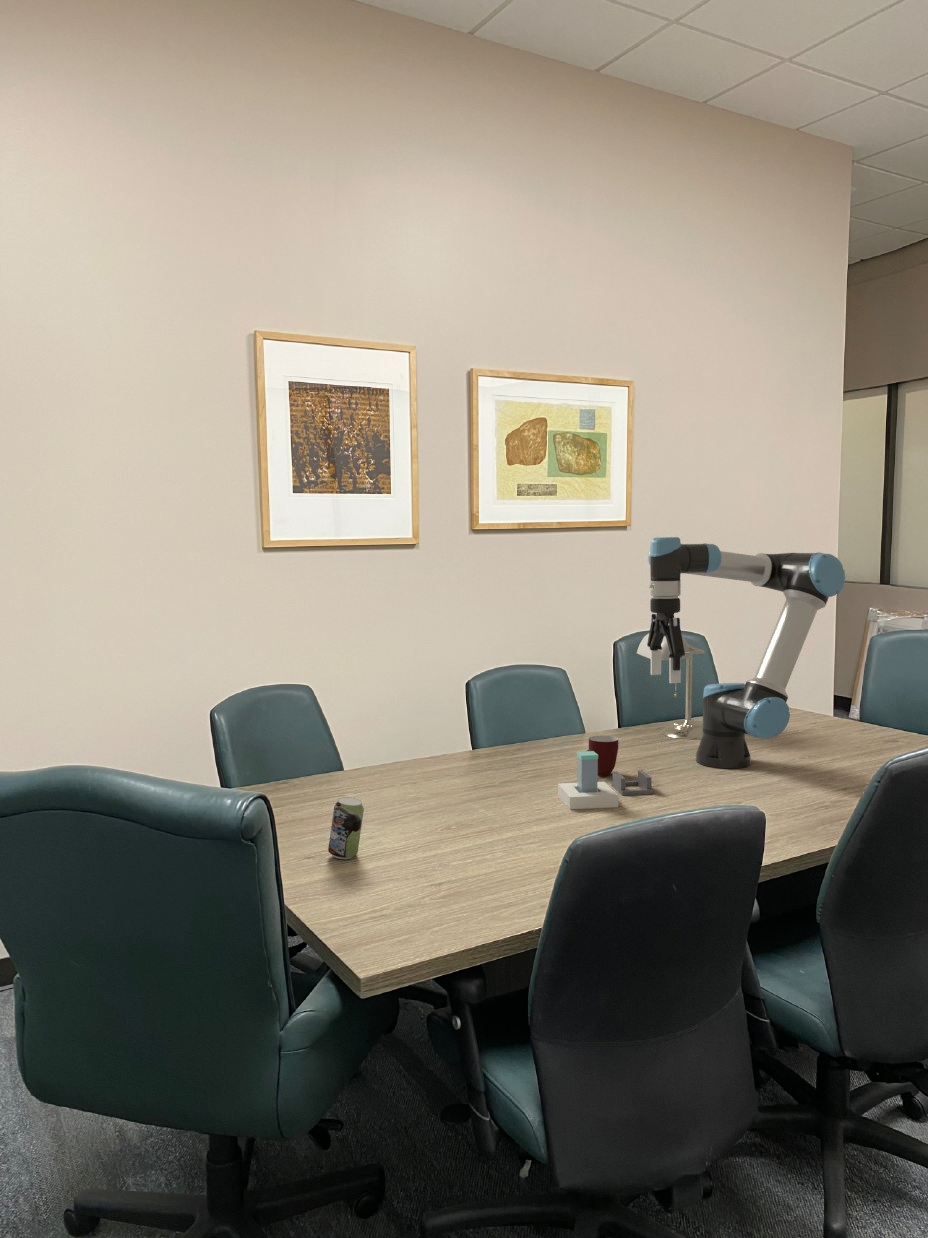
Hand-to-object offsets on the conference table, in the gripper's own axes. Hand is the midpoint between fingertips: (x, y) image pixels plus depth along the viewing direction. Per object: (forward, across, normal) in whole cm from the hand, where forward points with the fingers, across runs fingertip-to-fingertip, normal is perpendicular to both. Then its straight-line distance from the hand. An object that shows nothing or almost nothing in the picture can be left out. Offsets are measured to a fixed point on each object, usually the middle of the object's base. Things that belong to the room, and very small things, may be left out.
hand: (665, 678), depth 228 cm
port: (+28, +11, -24) cm, 38 cm away
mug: (+28, -12, -14) cm, 34 cm away
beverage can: (+27, +40, -83) cm, 96 cm away
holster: (+28, +3, -10) cm, 30 cm away
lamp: (+29, -58, +27) cm, 71 cm away
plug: (+28, +11, -24) cm, 38 cm away
